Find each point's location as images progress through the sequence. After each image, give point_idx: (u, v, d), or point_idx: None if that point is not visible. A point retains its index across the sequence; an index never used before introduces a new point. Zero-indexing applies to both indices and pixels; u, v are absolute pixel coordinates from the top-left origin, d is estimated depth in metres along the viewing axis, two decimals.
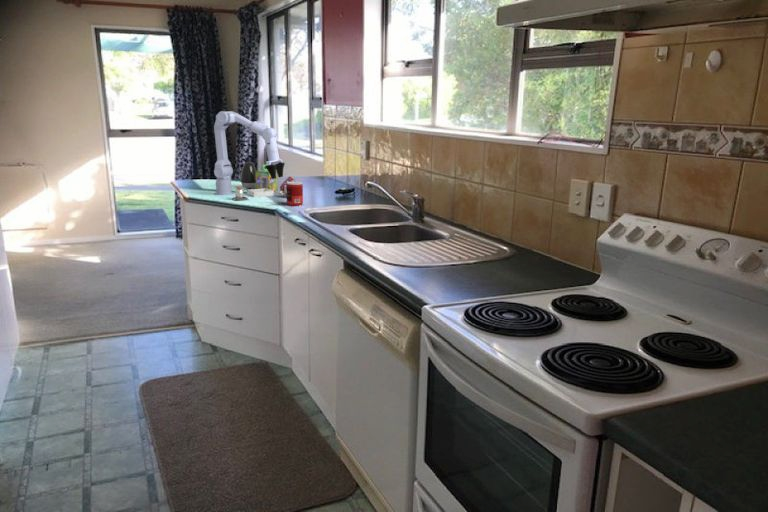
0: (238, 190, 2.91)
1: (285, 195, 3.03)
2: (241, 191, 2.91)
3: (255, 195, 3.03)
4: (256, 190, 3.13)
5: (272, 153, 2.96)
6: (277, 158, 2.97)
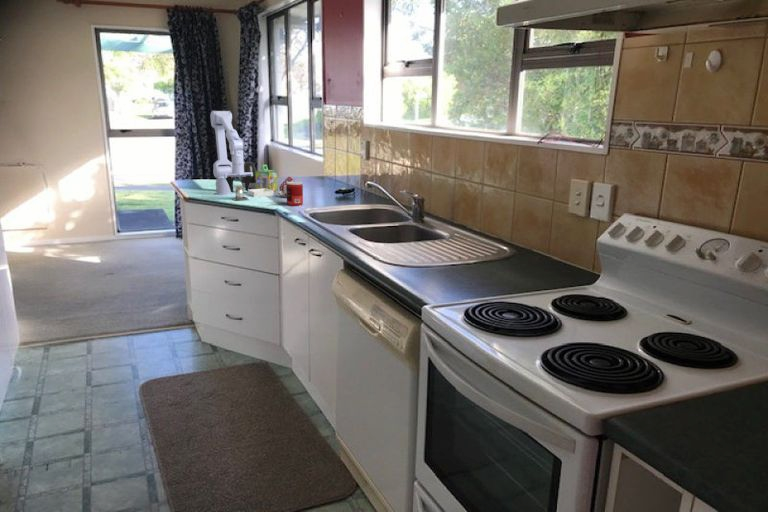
0: (238, 190, 2.91)
1: (284, 195, 3.03)
2: (241, 191, 2.91)
3: (255, 195, 3.03)
4: (256, 190, 3.13)
5: (233, 166, 2.87)
6: (238, 172, 2.87)
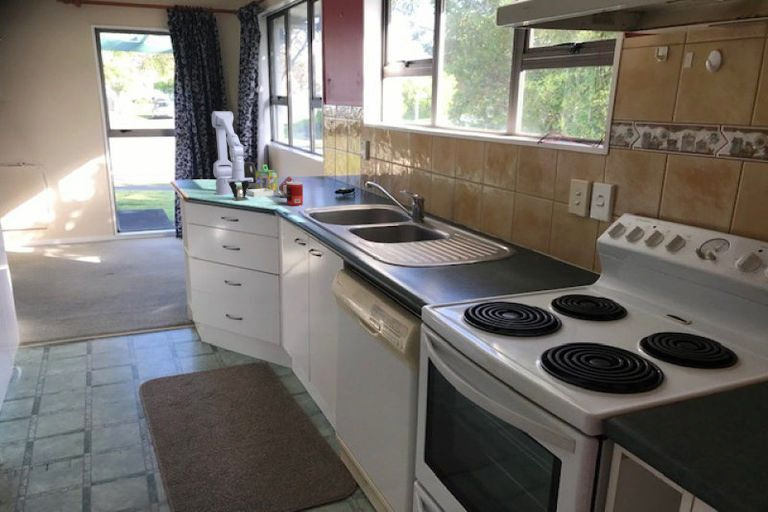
0: (238, 190, 2.91)
1: (284, 195, 3.03)
2: (241, 191, 2.91)
3: (255, 195, 3.03)
4: (256, 190, 3.13)
5: (234, 172, 2.88)
6: (238, 178, 2.88)
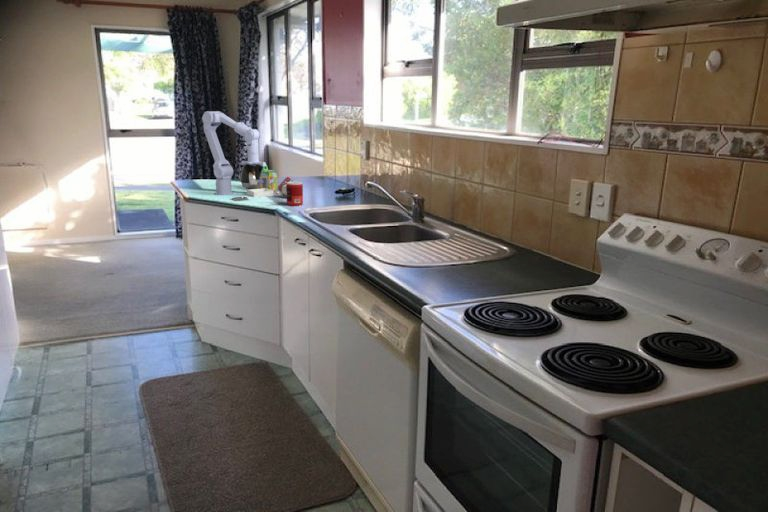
0: (249, 175, 3.01)
1: (282, 195, 3.02)
2: (251, 176, 3.00)
3: (255, 195, 3.03)
4: (256, 190, 3.13)
5: None
6: (248, 160, 2.99)
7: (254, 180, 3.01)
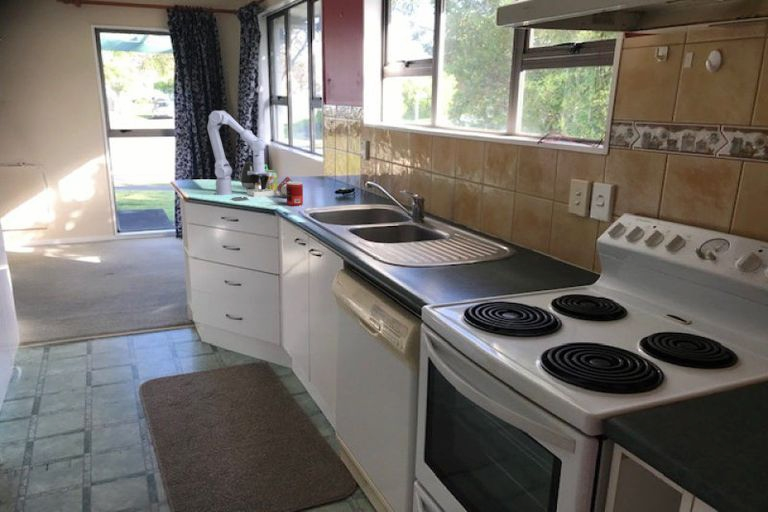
0: (255, 185, 3.06)
1: (282, 195, 3.02)
2: (257, 187, 3.06)
3: (255, 195, 3.03)
4: None
5: None
6: (254, 171, 3.05)
7: (260, 190, 3.07)
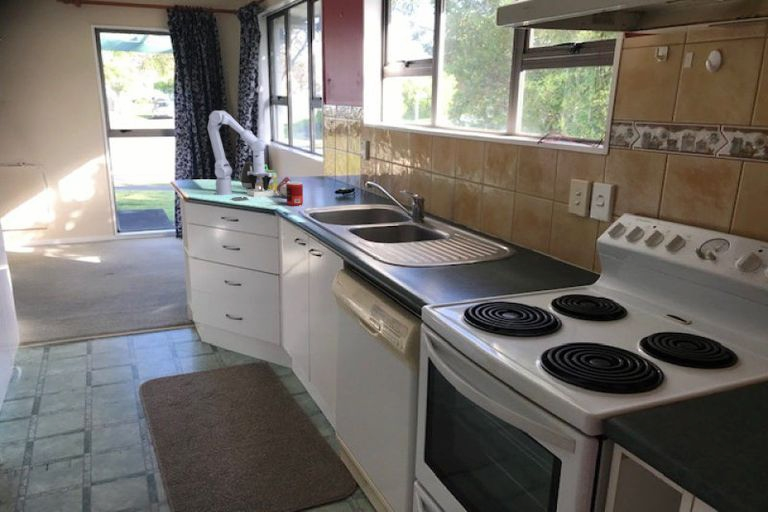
0: (255, 186, 3.07)
1: (281, 195, 3.02)
2: (257, 187, 3.06)
3: (255, 195, 3.03)
4: None
5: None
6: (254, 171, 3.05)
7: (260, 190, 3.07)
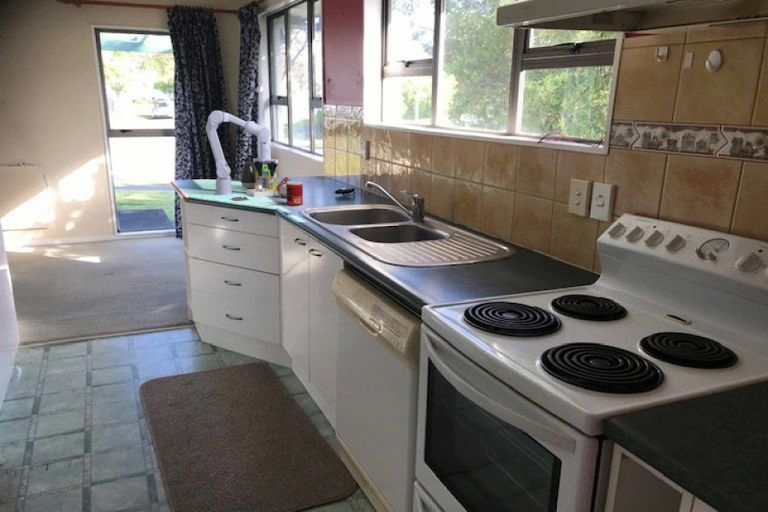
0: (255, 186, 3.07)
1: (280, 196, 3.01)
2: (257, 187, 3.06)
3: (255, 195, 3.03)
4: None
5: None
6: (261, 158, 3.08)
7: (260, 190, 3.07)
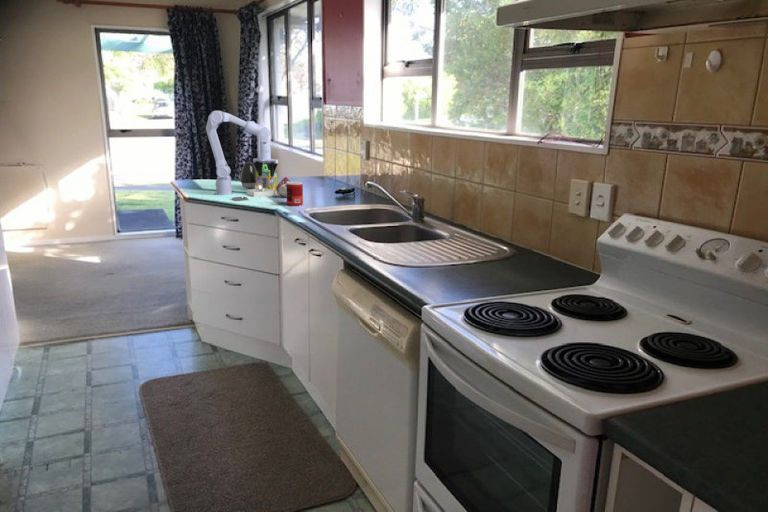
0: (255, 186, 3.07)
1: (280, 196, 3.01)
2: (257, 187, 3.06)
3: (255, 195, 3.03)
4: None
5: None
6: (261, 158, 3.08)
7: (260, 190, 3.07)
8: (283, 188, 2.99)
